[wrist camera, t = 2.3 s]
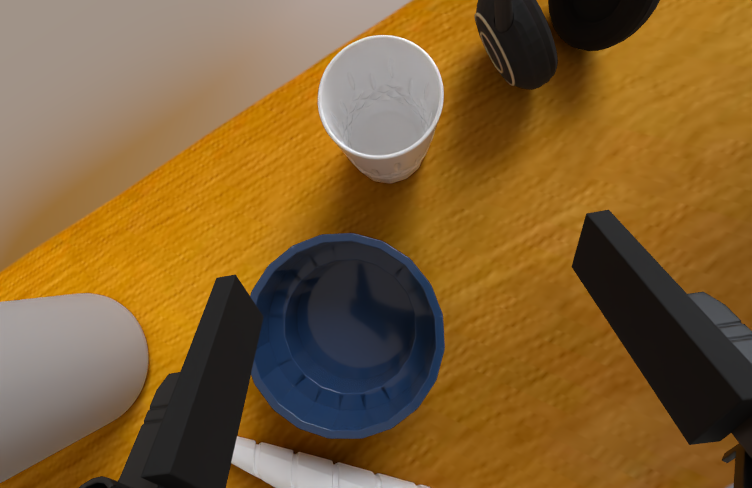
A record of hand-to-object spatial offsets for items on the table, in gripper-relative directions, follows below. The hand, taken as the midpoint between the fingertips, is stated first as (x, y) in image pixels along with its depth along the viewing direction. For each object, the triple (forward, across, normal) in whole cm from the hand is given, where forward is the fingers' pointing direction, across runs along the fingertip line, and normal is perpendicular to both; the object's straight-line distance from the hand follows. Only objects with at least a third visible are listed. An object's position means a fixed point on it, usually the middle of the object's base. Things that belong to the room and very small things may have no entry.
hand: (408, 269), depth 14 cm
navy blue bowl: (+10, -5, -15) cm, 19 cm away
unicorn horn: (+1, -12, -24) cm, 27 cm away
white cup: (+20, 0, -5) cm, 21 cm away
